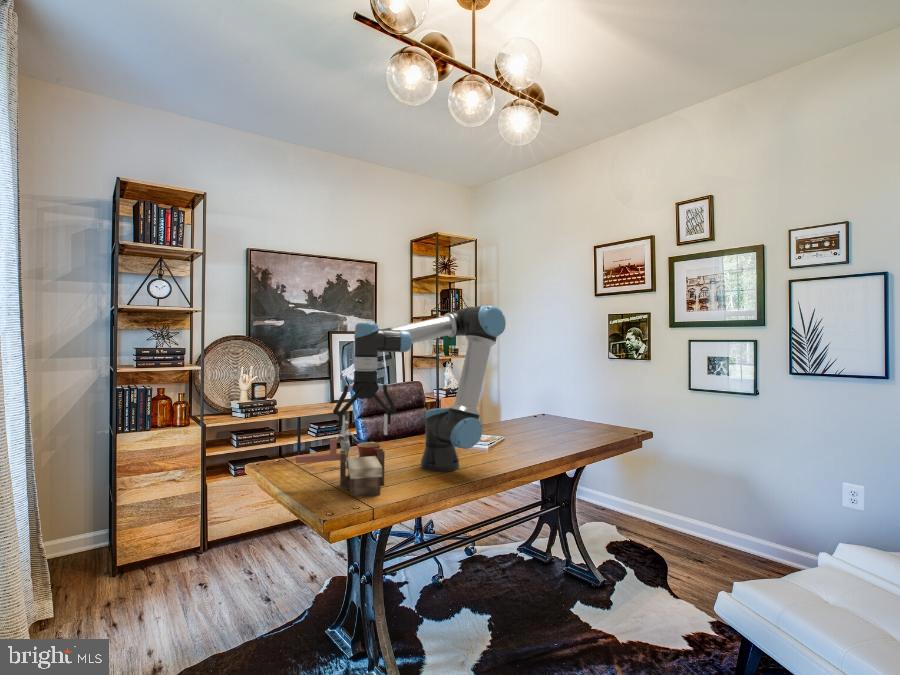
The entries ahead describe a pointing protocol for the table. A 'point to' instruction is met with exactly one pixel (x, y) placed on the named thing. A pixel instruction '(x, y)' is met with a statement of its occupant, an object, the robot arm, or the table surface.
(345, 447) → the human figurine
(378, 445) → the mug
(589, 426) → the table surface
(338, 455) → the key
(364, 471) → the lid
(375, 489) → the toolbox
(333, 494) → the table surface
